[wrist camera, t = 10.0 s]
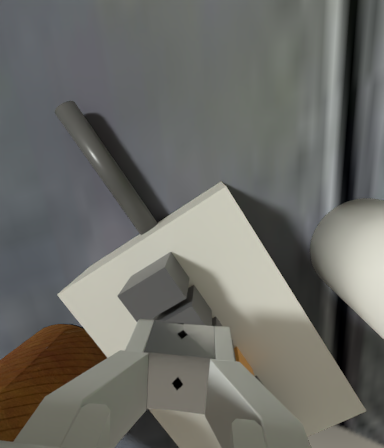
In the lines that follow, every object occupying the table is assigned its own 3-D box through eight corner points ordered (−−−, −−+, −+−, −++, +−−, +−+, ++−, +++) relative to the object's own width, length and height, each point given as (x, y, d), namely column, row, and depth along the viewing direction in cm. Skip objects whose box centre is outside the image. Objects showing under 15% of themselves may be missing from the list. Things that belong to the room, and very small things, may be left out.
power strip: (205, 417, 19) (206, 527, 13) (11, 160, 16) (-102, 156, 10) (330, 357, 18) (393, 451, 12) (143, 57, 14) (100, -18, 8)
